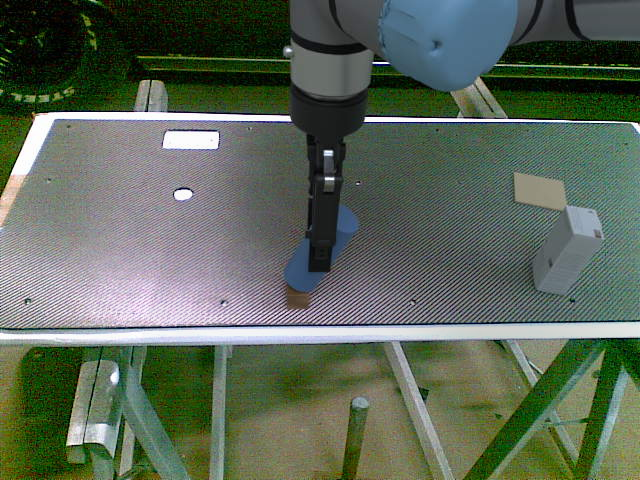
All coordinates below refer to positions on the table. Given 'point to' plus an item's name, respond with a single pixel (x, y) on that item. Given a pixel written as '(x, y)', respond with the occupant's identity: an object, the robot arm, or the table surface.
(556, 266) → the cosmetic box
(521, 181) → the mat
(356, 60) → the robot arm
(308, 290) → the tube
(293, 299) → the brown rectangular block
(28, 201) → the table surface
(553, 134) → the table surface
